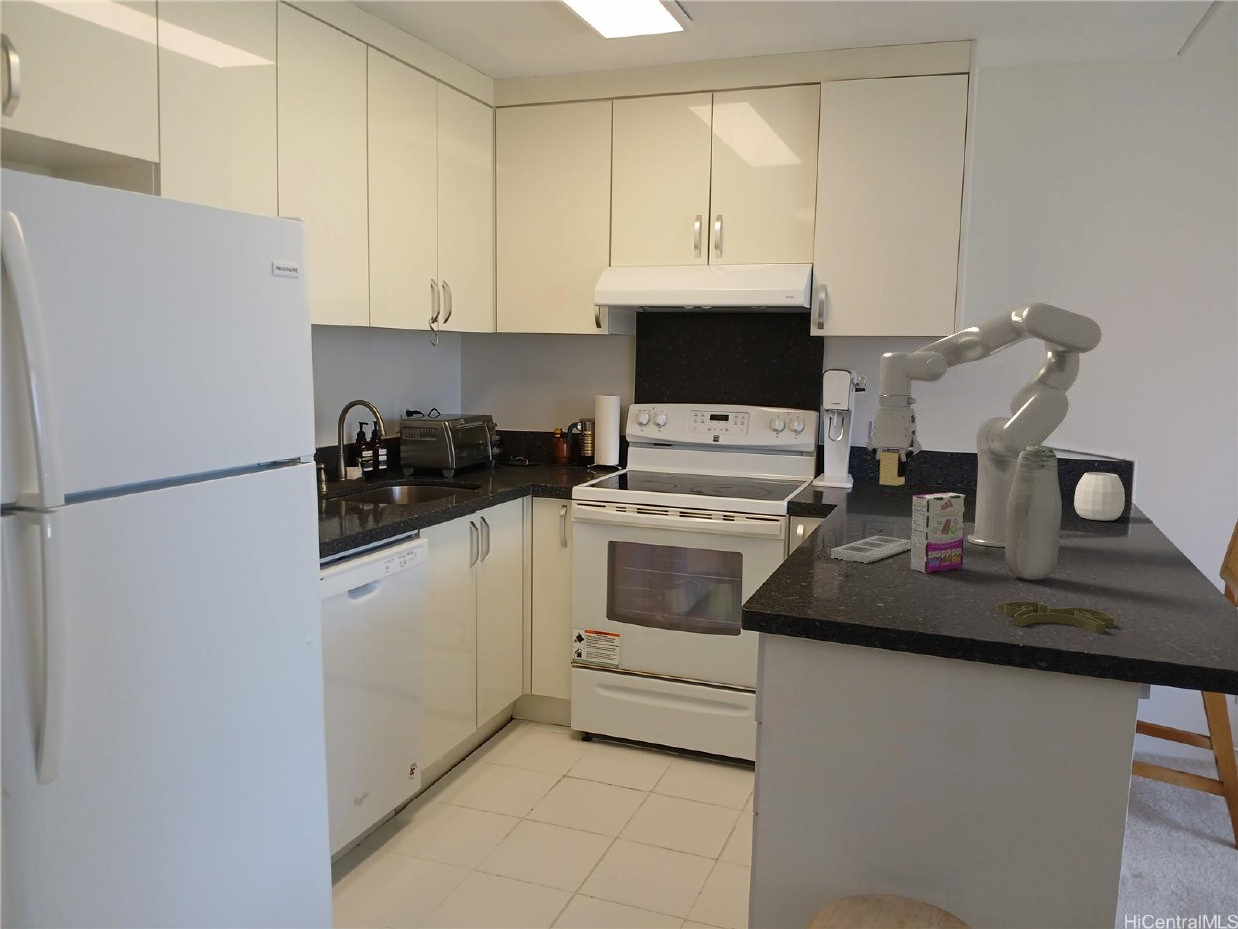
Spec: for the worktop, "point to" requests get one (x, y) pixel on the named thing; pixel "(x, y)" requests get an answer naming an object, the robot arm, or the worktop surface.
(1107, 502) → the white faceted vase
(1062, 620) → the cookie cutter
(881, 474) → the tan hollow block
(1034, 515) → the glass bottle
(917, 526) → the candy bar box
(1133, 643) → the worktop surface
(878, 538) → the white rectangular frame
